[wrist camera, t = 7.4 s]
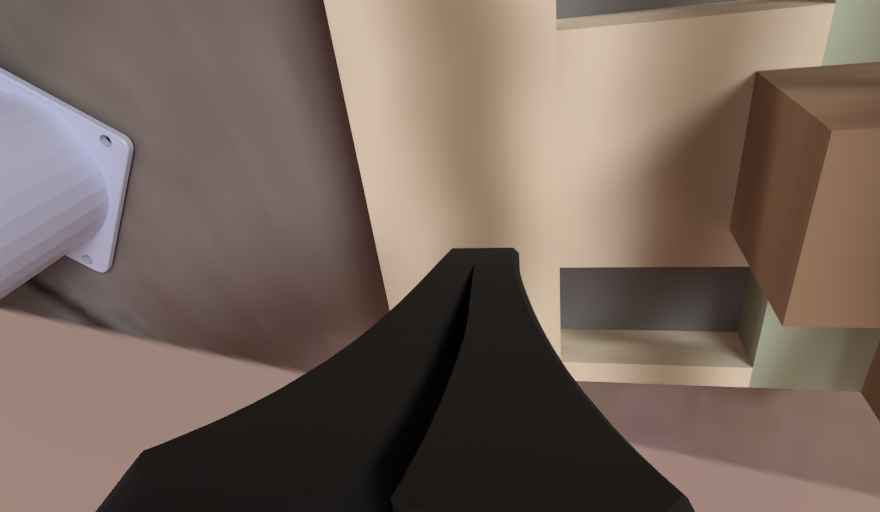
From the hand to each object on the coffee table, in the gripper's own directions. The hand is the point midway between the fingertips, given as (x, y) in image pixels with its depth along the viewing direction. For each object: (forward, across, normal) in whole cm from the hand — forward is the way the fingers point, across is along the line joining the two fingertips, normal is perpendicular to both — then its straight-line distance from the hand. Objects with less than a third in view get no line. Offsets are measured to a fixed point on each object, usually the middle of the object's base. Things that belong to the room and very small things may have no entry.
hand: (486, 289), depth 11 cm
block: (+8, -9, 0) cm, 12 cm away
